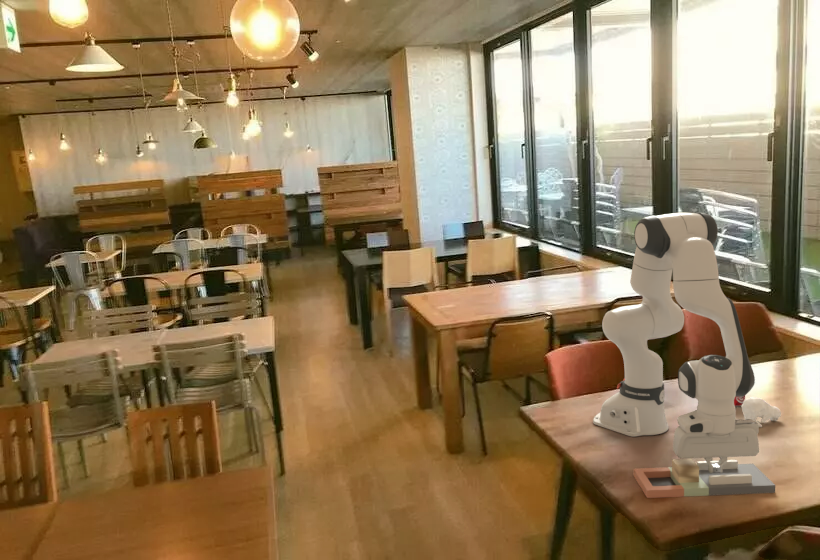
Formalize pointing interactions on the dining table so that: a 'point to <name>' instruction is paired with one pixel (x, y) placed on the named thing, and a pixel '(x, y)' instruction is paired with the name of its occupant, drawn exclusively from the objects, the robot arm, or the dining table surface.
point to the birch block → (685, 470)
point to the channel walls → (726, 478)
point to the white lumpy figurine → (759, 410)
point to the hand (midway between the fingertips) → (715, 472)
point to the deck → (662, 485)
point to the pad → (692, 487)
